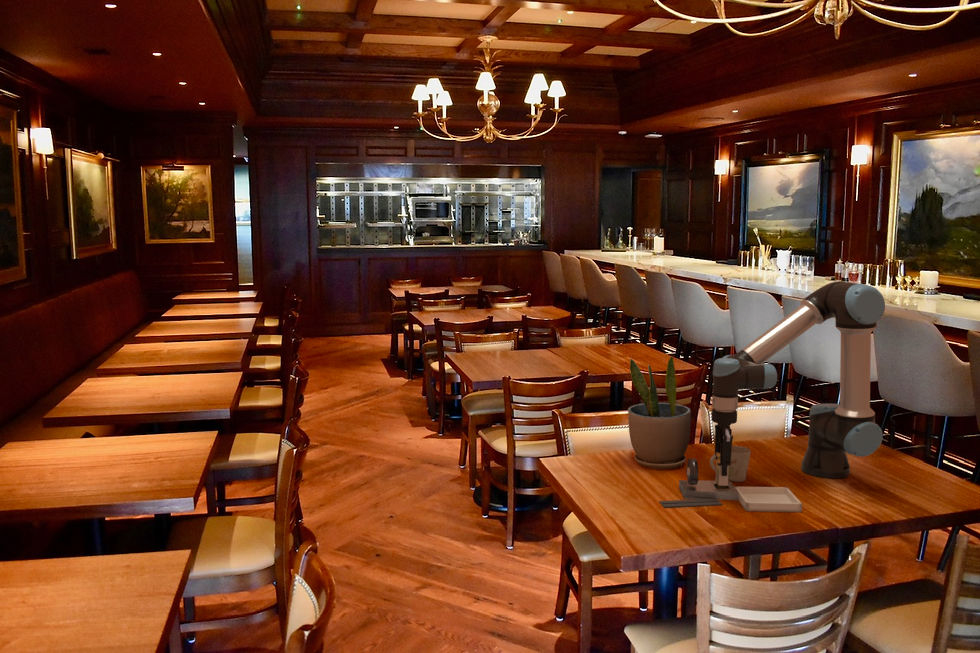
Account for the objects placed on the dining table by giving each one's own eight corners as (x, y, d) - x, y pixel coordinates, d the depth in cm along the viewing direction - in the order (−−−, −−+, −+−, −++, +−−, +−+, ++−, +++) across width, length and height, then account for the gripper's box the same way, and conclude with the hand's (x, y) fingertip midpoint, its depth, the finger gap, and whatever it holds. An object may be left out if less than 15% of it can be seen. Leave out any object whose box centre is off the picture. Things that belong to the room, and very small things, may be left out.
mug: (750, 483, 255) (752, 453, 254) (710, 481, 258) (711, 451, 256) (747, 475, 263) (749, 446, 262) (708, 473, 266) (709, 444, 264)
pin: (726, 491, 248) (728, 451, 246) (729, 496, 244) (731, 455, 242) (712, 491, 248) (714, 451, 246) (715, 496, 244) (717, 455, 242)
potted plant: (614, 462, 278) (616, 349, 272) (652, 450, 291) (655, 342, 286) (663, 477, 262) (666, 357, 256) (701, 463, 276) (705, 350, 270)
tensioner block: (730, 488, 251) (731, 455, 249) (738, 500, 241) (739, 465, 239) (679, 487, 252) (680, 454, 250) (684, 499, 242) (686, 464, 240)
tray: (786, 495, 245) (787, 487, 245) (801, 512, 231) (802, 503, 231) (734, 494, 246) (734, 486, 245) (745, 511, 232) (746, 502, 232)
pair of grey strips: (716, 499, 241) (716, 498, 241) (722, 505, 237) (722, 504, 237) (659, 502, 239) (659, 501, 239) (664, 507, 235) (664, 506, 234)
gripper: (706, 402, 250) (703, 474, 254) (718, 415, 234) (715, 491, 238) (730, 403, 250) (727, 474, 253) (743, 416, 234) (740, 492, 237)
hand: (721, 482), depth 246 cm, fingers closed on pin, 3 cm apart
